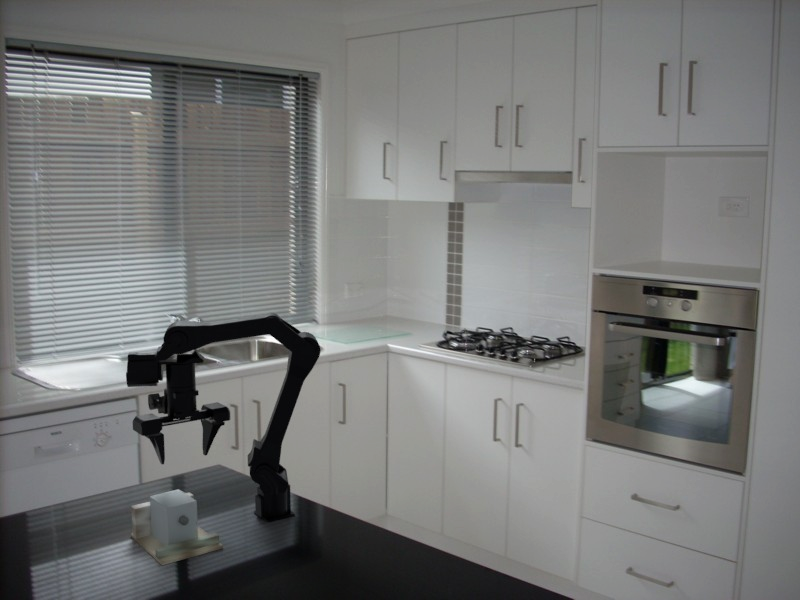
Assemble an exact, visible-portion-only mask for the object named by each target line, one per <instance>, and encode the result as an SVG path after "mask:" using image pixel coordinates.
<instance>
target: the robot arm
mask: <svg viewBox="0 0 800 600" xmlns="http://www.w3.org/2000/svg"><path fill="white" fill-rule="evenodd" d="M267 335H269V336H271V337H272V338H273V339H275V340H276V341H277V342H279V343H280V344H281V345H282V346H283V347H284V348H286V349H287V350H288V351H289V352H288V357H287V366H286V367H287V368H286V372H285V375H284V376H285V377H284V378H283V382H282V385H281V388H280V390H279V393H278V396H277V399H276V401H275V404H274V408H273V411H272V413H271V416H270V417H269V418H270V419H269V421H268V424H267V426H266V427H267V428H266V430H265V433H264V434H263V436H262V437H261V439H260V440H257V439H255V438H254V439H253V442H252V447H251V450H250V451H249V453H248V455H247V467H249V476H250V478H251V480H252V481H253V482H254V483H255V484H257V485H259V486H257V487H256V494H255V496H254V497H255V498H254V500H255V502H254V503H255V505H254V506H255V509H254V510H253V513H254V514H255V515H256V516H257V517H259V518H260V519H262V520H264V521H265V522H266V523H271V522H274V521H279V520H282V519H285V518H286V519H287V518H289V517H293V516H296V513H295V511H293V510H292V505H291V502H292V501H291V499H292V498H291V496H292V495H291V484H289V483H290V482H289V478H288V472H287V471H288V470H287V468H285V467H284V466H283V465H281V463H280V461H281V454H282V445H283V441H284V438H285V435H286V433H287V429H288V427H289V424H290V422H291V419H292V416H293V414H294V413H293V412H294V410H295V407H296V406H297V405H296V404H297V401H298V398H299V396H300V392H301V391H302V387H303V384H304V383H305V380H306V378H307V377H308V376H309V375H310V373H311V371H312V370H313V369H314V367H315V365H316V363H317V362H318V360H319V358H320V357H321V346H320V343H319V342H318V339H317V337H316V336H314V334H312V333H310V332H307V331H301V330H299V329H298V328H297V327H295V326H293V325H292V324H291V323H289V322H287V321H286V320H285V319H283V318H282V317H280V316H279V315H278V314H277V313H274V312H268V313H266V314H261V315H254V316H247V317H242V318H235V319H227V320H221V321H213V322H203V321H196V320H195V321H193V320H192V321H191V320H189V321H188V320H178V321H174V322H172V323H171V324H169V325H168V327H167V328H166V331H165V333H164V335H163V343H162V344H161V346H158V348H157V350H156V352H135V351H133V352H129V353H128V354H127V363H126V364H127V365H126V371H125V377H126V378H125V379H126V386H127V388H139V387H142V388H143V387H157V386H158V384H159V383H160V382H163V380H164V366H163V365H165V379H166V383H165V385H166V388H164V391H163V395H162V396H161V395H160V393H159V392H156V393H155V392H154V393H150V394H147V405H148V409H149V410H150V411H152V410H157V412H158V414H163V415H165V416H160V417H159V416H157V415H155V414H154V413H146V414H142V415H136V416H135V417H134V418H133V420H132V430H133V431H134V432H135V433H137V434H138V435H141V436H142V437H143V436H144V437H145V438H147V439H149V441H150V443H151V444H152V446H153V449H154V452H155V454H156V456H157V458H158V460H159V463H160V464H161V465H165V461H166V460H165V459H166V457H165V456H166V454H165V453H166V451H165V450H166V449H165V435H164V433H163V432H161V431H162V430H163V427H167V426H172V425H173V426H174V425H178V424H183V423H190V422H195V421H200V422H201V427H202V454H203V455H204V456H205V457H206V456H208V454H209V451H210V448H211V447H212V445H213V442H214V440H215V437H216V436H217V434H218V432H219V431H220V429H221V427H222V426H225V422H227V421H229V422H230V420H231V411H230V408H229V407H228V406H227V405H224V404H222V403H220V402H218V401H217V402H211V403H206V404H202V406H201V408H200V409H201V410H199V409H197V396H199V390H198V389H197V387H196V385H197V383H196V382H197V380H196V364H203V363H204V361H205V356H204V355H202V354H201V353H200V352H199V351H198V349H201V348H202V347H206V346H207V345H210V344H214V343H220V342H228V341H234V340H241V339H246V338H247V339H248V338H253V337H258V336H267ZM191 351H192V352H191ZM189 352H191V353H189ZM174 355H176V357H174V358H172V357H173V356H174ZM159 381H160V382H159ZM166 415H167V416H166Z"/></svg>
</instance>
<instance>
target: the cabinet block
mask: <svg viewBox="0 0 800 600" xmlns="http://www.w3.org/2000/svg"><path fill="white" fill-rule="evenodd" d="M185 493H186V492H184V491H182V490H180V489H179V488H177V489H175V490H173V489H172V490H171V491H165V492H161V493H158V494H154V495H150V496H149V502H150V512H151V533H152V536H153V537H154V538H156V539H157V540H158V541H159V542H161V543H162V544H163V545H164V546H168V545H171V544H175V543H179V542H183V541H186V540H190V539H194V538H197V537H198V527H199V525H198V502H197V500H196V499H193V498H192V497H190V496H189V495H187V494H185Z"/></svg>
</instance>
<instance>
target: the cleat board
mask: <svg viewBox="0 0 800 600" xmlns="http://www.w3.org/2000/svg"><path fill="white" fill-rule="evenodd" d="M184 493H185V494H187V495H189V496H190V497H192V498H193V499H194V498H195V497H194V494H192V493H191V492H190V491H189V492H184ZM130 508H131V509H130V510H131V511H130V513H131V528H132V531H131V532H132V533H130V537H131V539H133V540H134V541H135V542H136V543H137V544H138V545H140V546H141V548H142V549H144V550H145V551H146V552H147V553H148V554H150V556H152V557H153V558H154V559H155V560H156V561H157V562H158V563H159V564H160V565H161V566H164V565H169V564H171V563H175V562H178V561H182V560H186V559H190V558H193V557H196V556H200V555H203V554H207V553H211V552H214V551H218V550H221V549H223V548H224V547H223V546H224V545H223V544H222V543H221V542H220V534H218V532H213V533H208V532H206V530H204V529H202V528H201V527H200V526H198V537H197V538H194V539H190V540H186V541H183V542H179V543H175V544H171V545H168V546H164V545H163V544H162V543H161V542H159V541H158V540H157V539H156V538H154V537H153V536H152V533H151V512H150V501H146V502H142V503H138V504H134V505H131V506H130Z"/></svg>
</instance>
